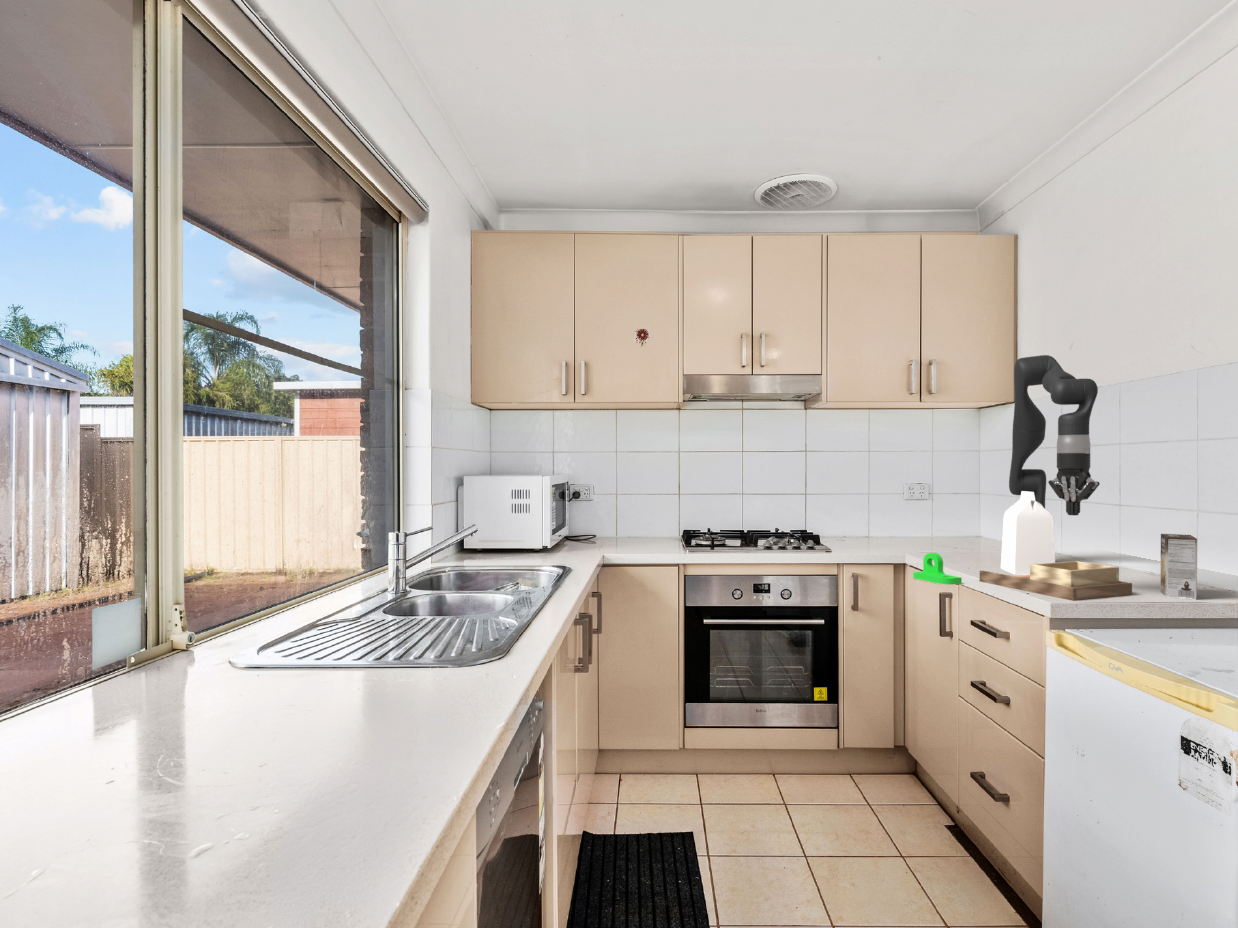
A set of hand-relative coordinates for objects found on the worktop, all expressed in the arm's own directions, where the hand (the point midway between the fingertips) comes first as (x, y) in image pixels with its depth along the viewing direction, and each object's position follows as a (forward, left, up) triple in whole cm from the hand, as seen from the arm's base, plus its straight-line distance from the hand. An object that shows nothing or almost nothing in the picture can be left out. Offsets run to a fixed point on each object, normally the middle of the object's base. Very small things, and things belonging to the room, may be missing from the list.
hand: (1073, 515), depth 175 cm
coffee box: (+13, +21, -21) cm, 33 cm away
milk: (-27, +17, -21) cm, 38 cm away
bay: (-6, 0, -21) cm, 22 cm away
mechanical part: (-25, -22, -21) cm, 40 cm away
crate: (-6, 0, -20) cm, 21 cm away
